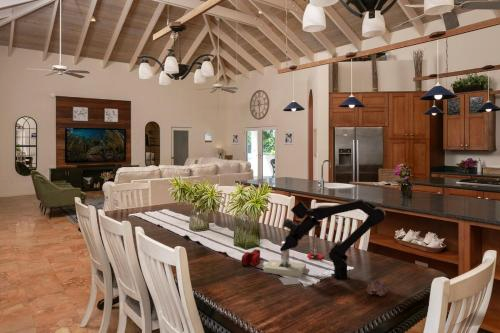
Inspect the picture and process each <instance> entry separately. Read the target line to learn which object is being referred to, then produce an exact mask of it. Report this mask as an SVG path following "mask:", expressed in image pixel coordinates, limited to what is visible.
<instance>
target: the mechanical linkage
mask: <svg viewBox="0 0 500 333" xmlns="http://www.w3.org/2000/svg"><path fill="white" fill-rule="evenodd" d="M260 263H261V250H260V249H258V248H257V249H255V248H254V249H253V250H252V251H251V252H250V251H246V252H245V253H244V254H242V256H241V265H242V266H247V265H249V264H251V267H255V268H257V266H258V265H259V264H260Z"/></svg>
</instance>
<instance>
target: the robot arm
mask: <svg viewBox="0 0 500 333" xmlns="http://www.w3.org/2000/svg"><path fill="white" fill-rule="evenodd" d="M356 210H360V211H362V212H363V213H365V215H367V217H366V218H365V220H364V221H363V222H361V224H360V225H359V226H358V227H357V228H356V229H355V230H354V231H352V232H351V233H350V234H349V235H348V236H346V238H345V239H344V240H343V241H339V240H337V241H336V243H335V244H334V245H332V246H331V247H330V249H329V250H330V251H329V253H328V256H329V257H328V258H329V259H330V261H332V264H333V272H334V273H331V274H330V275H331V276H332V277H333V278H334V279H336V280H337V281H341V280H342V281H343V280H350V279H351V277H350V276H349V275H348V264H347V262H348V261H349V256H348V255H347V251H348V250H349V249H350V248H351V247H352V246H353V245H354V244H355V243H356V242H358V240H360V238H362V237H363V236H364V234H366V233H368V231H369V230H370V229H372V228H373V227H375V226H377V225H378V224H380V223H381V222H383V221H384V220H385V218H386V210H385V209H384V208H383V207H382V206H376V205H374V204H373V203H370V202H368V201H365V199H362V198H359V199H356V200H353V201H348V202H344V203H339V204H333V205H318V206H317V207H311V208H309V207H308V206H307V205H306V204H305V203H304V202H303V201H301V200H300V201H298V203H297V204H296V205H294V206H293V207H292V208H291V209H290V211H291V212H292V213H293V215H294V216H295V217H296V218H297V219H298V220H299V219H300V220H301V221H300V222H298V223H297V222H295V221H294V220H292V219H290V218H286V219H285V220H284V223H283V225H282V227H284V228H287V229H289V233H288V234H287V235H286V236H285V238H284V241H286V242H285V243H284V244H283V246H282V247H281V246H280V249H279V251H280V252H281V251H284V250H287V249H289V250H291V249H295V248H297V247H298V246H299V244H300V241H301V240H303V237H305V236H307V235H308V234H309V232H310V231H312V230H313V229H314V227H316V226H317V227H318V228H321V227H322V220H324V219H327V218H329V217H331V216H334V215H337V214H341V213H346V212H351V211H352V212H353V211H356Z"/></svg>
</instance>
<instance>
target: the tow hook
mask: <svg viewBox="0 0 500 333" xmlns="http://www.w3.org/2000/svg"><path fill="white" fill-rule="evenodd" d="M317 242H318V239H317V234H315V236H314V243H313V244H314V250H313V253H308V254H307V256H306V257H307V258H308V259H309V260H314V261H323V258H324V255H323V254H321V253H318V250H317V247H318V244H317Z"/></svg>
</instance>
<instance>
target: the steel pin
mask: <svg viewBox="0 0 500 333" xmlns="http://www.w3.org/2000/svg"><path fill="white" fill-rule="evenodd" d="M280 242H281V243H280V244H281V246H280V248H281V247H282V246H283V244H284V243H285V242H286V240H282V241H280ZM280 252H281V253H280V254H281V255H280V256H281V257H280V258H281V260H280V261H281V267H287V268H289V262H290V249H287V250H284V251H280Z"/></svg>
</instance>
